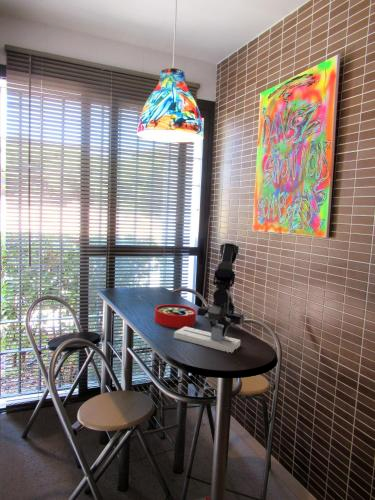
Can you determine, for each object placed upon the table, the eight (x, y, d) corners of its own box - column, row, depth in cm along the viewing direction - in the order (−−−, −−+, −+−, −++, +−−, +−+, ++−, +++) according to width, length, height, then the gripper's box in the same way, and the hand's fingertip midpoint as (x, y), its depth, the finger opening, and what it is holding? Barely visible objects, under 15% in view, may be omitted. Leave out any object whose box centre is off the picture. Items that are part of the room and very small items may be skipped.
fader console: (184, 331, 161) (185, 326, 161) (240, 345, 150) (240, 339, 149) (173, 337, 153) (174, 331, 152) (231, 353, 141) (232, 346, 140)
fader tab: (216, 335, 152) (217, 323, 152) (225, 337, 150) (226, 325, 150) (210, 339, 147) (211, 327, 146) (219, 341, 145) (220, 329, 144)
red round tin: (146, 307, 176) (177, 302, 190) (146, 319, 177) (176, 313, 190) (174, 318, 162) (204, 312, 176) (173, 330, 162) (203, 324, 176)
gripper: (192, 297, 144) (189, 335, 146) (236, 306, 135) (232, 346, 137) (204, 292, 154) (201, 328, 155) (246, 301, 145) (242, 338, 147)
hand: (218, 335), depth 148 cm, fingers closed on fader tab, 4 cm apart
